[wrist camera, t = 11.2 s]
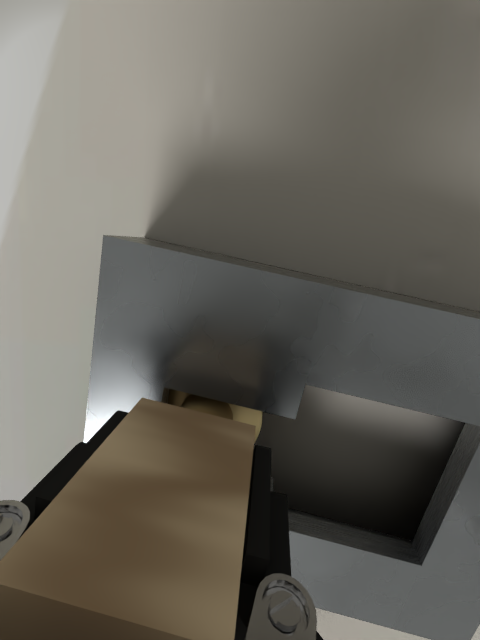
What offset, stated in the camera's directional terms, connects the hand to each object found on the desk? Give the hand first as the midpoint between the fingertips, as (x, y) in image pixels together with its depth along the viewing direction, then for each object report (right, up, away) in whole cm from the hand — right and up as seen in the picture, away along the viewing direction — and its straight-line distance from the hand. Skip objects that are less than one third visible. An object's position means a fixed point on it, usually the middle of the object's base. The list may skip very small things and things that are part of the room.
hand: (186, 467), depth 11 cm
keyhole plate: (+5, 0, +5) cm, 7 cm away
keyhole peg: (+1, +1, +5) cm, 5 cm away
